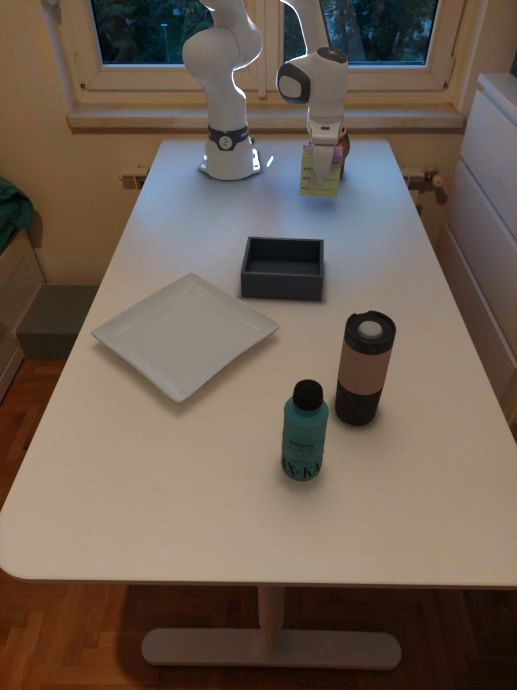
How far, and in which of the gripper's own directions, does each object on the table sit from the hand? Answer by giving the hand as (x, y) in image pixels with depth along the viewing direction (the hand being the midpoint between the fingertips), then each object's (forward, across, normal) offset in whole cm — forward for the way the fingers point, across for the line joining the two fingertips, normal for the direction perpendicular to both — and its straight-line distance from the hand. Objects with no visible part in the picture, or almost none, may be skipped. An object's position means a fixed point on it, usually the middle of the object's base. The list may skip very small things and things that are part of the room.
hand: (319, 175), depth 135 cm
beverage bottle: (+8, +86, -1) cm, 86 cm away
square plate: (+8, +58, -25) cm, 63 cm away
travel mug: (+8, +72, +8) cm, 73 cm away
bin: (+8, +36, -7) cm, 37 cm away
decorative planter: (+9, -20, +3) cm, 22 cm away
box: (+5, 0, 0) cm, 5 cm away
